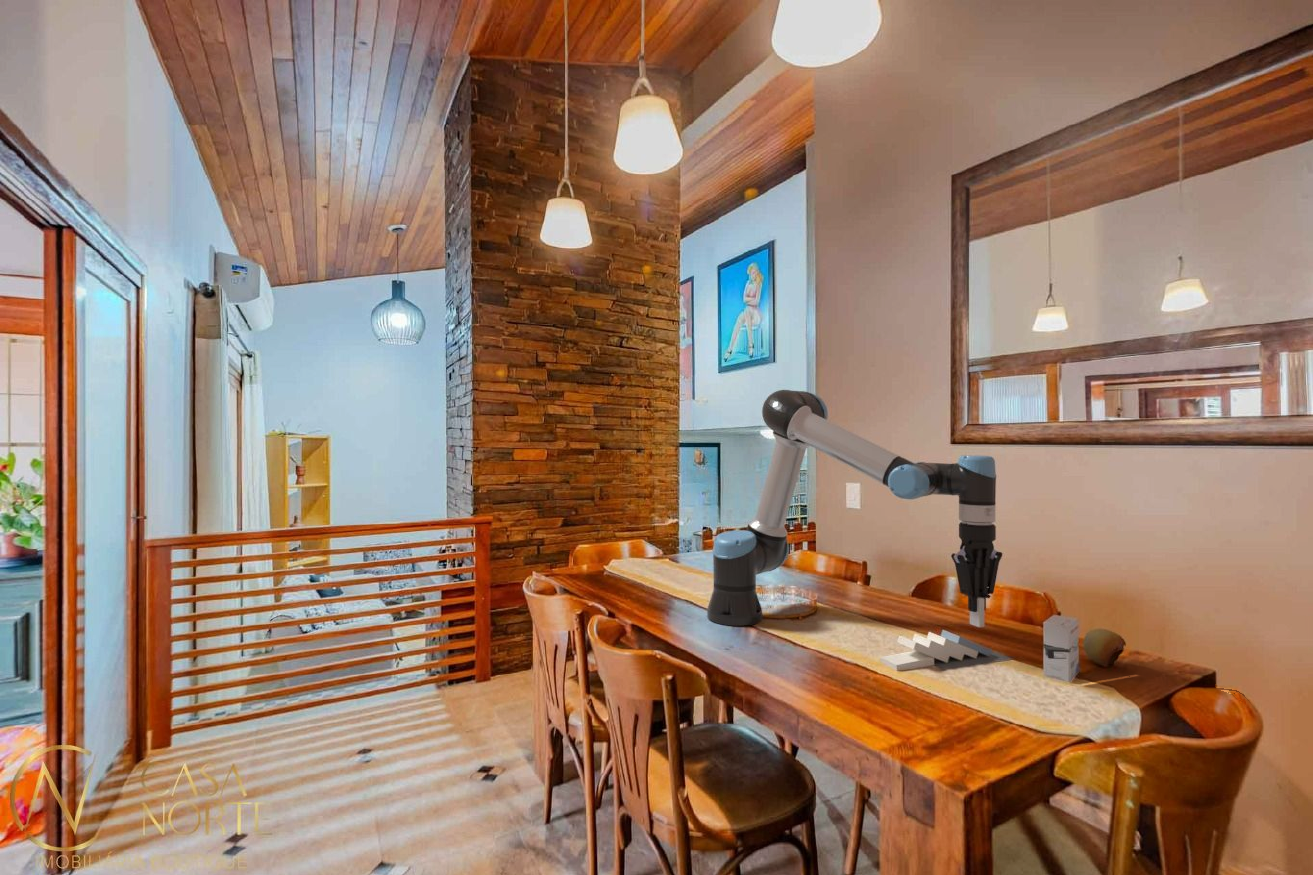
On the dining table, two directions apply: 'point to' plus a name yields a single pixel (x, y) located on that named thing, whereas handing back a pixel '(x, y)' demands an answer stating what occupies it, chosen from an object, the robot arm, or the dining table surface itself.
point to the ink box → (1061, 648)
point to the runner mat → (970, 661)
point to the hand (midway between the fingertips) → (977, 625)
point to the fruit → (1103, 646)
